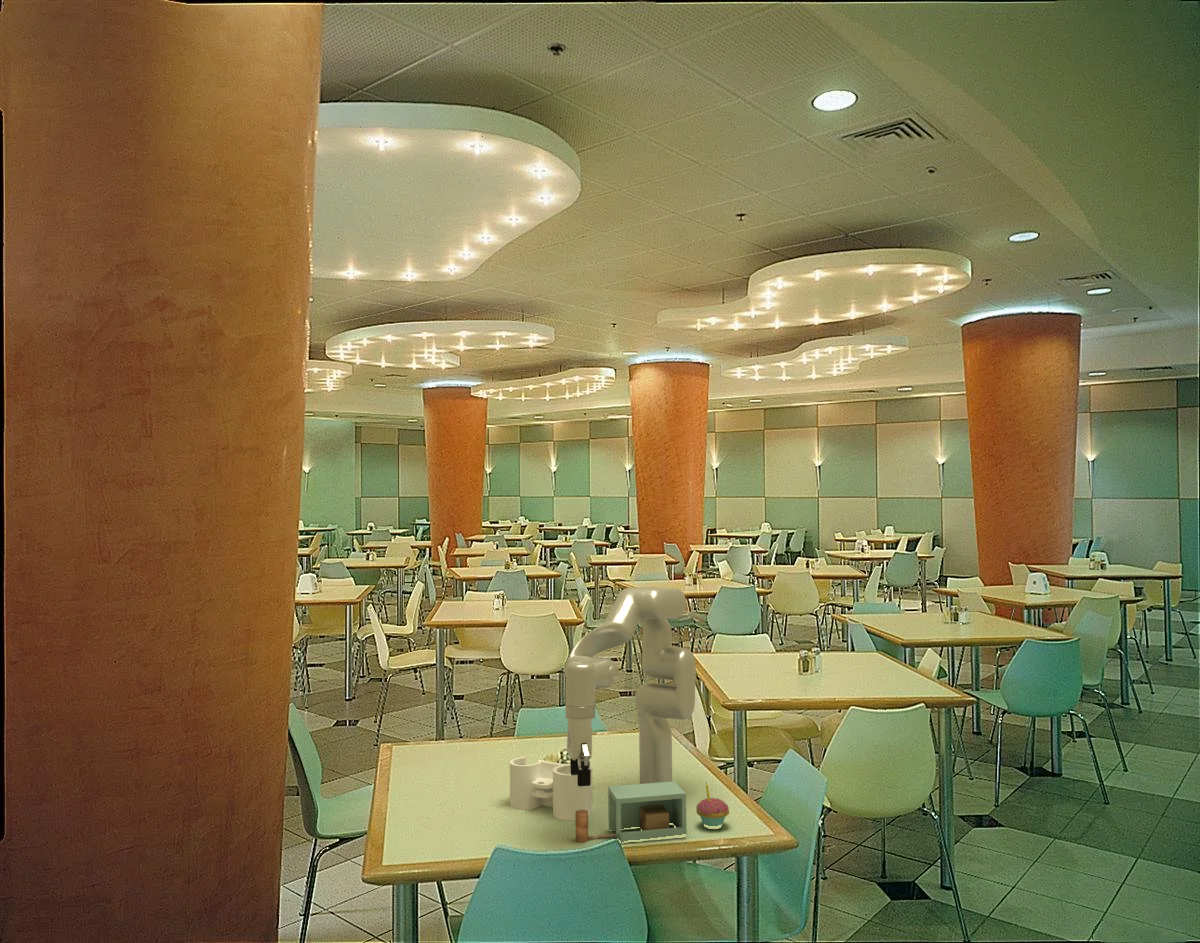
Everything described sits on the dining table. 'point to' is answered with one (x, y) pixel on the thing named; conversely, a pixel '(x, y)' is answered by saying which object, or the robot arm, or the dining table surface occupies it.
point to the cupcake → (712, 810)
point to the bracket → (548, 788)
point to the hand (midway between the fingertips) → (580, 780)
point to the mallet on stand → (648, 821)
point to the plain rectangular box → (632, 797)
